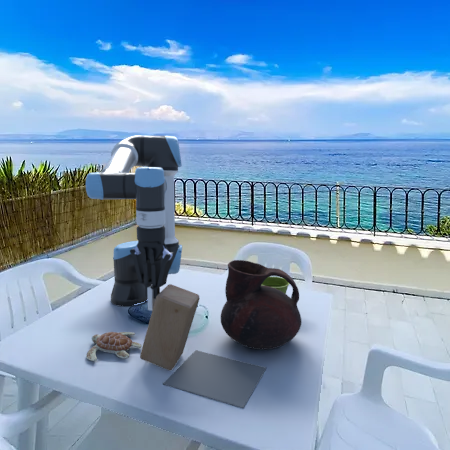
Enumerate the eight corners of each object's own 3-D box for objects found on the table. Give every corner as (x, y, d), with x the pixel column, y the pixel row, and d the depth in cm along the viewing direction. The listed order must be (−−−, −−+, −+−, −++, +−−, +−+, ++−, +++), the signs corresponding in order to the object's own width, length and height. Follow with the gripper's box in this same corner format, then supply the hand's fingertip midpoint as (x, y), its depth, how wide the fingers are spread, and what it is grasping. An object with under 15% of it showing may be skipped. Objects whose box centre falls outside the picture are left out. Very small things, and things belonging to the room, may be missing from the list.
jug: (295, 369, 102) (299, 283, 97) (209, 354, 109) (209, 273, 105) (303, 329, 126) (307, 258, 121) (232, 318, 133) (233, 251, 128)
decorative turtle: (112, 331, 124) (112, 317, 123) (153, 342, 117) (153, 327, 116) (69, 357, 107) (68, 341, 106) (113, 372, 100) (112, 355, 100)
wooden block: (171, 373, 100) (191, 308, 95) (137, 359, 101) (155, 294, 96) (183, 354, 109) (201, 294, 104) (152, 341, 111) (169, 282, 106)
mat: (195, 350, 111) (195, 350, 111) (266, 368, 102) (266, 367, 102) (162, 384, 95) (162, 383, 95) (243, 408, 86) (243, 407, 86)
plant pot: (260, 301, 148) (261, 275, 146) (290, 305, 145) (291, 278, 143) (254, 313, 137) (255, 285, 135) (286, 318, 134) (287, 288, 132)
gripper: (122, 225, 98) (125, 309, 102) (163, 230, 93) (165, 318, 97) (139, 221, 105) (141, 300, 109) (179, 225, 99) (180, 307, 104)
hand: (153, 308), depth 103 cm, fingers closed
